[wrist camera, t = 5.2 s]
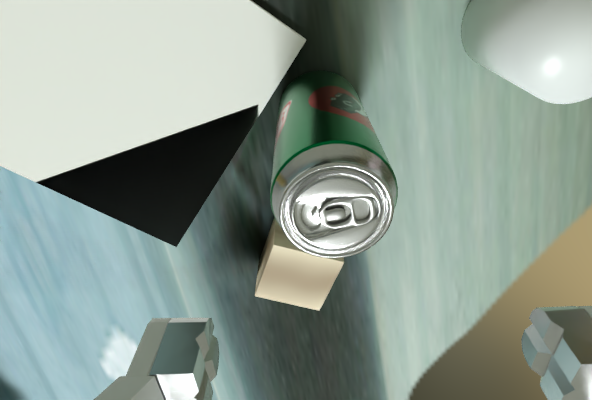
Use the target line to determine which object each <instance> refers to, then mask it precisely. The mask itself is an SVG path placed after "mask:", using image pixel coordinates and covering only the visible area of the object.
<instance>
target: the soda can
mask: <svg viewBox="0 0 592 400" xmlns="http://www.w3.org/2000/svg"><path fill="white" fill-rule="evenodd" d="M397 197H398V187H397V181H396V177H395V175H394V172H393V170H392V168H391V166H390V163H389V161H388V159H387V157H386V155H385V153H384V151H383V149H382V146H381V144H380V142H379V140H378V138H377V136H376V134H375V131H374V129H373V127H372V125H371V123H370V121H369V119H368V116H367V114H366V112H365V110H364V108H363V106H362V104H361V102H360V99H359V97H358V95H357V93H356V91H355V89H354V88H353V86H352V85H351V84H350V83H349V82H348V81H347V80H346V79H345V78H343V77H342V76H340V75H338V74H336V73H333V72H329V71H312V72H308V73H305V74H303V75H301V76H299V77H297V78H296V79H295V80H293V81H292V82H291V83H290V84H289V85H288V87H287V88H286V89H285V91H284V93H283V95H282V97H281V100H280V104H279V111H278V121H277V131H276V141H275V151H274V161H273V171H272V181H271V191H270V203H271V208H272V212H273V214H274V217H275V219H276V221H277V222H278V224H279V225H280V227H281V228H282V230H283V232H284V233H285V235H286V236H287V238H288V239H289V240H290V241H291V242H292V243H293V244H294V245H295V246H296V247H298V248H299V249H301V250H302V251H304V252H306V253H309V254H311V255H314V256H318V257H323V258H343V257H348V256H353V255H355V254H358V253H361V252H363V251H365V250H367V249H369V248H370V247H371V246H373V245H374V244H376V243H377V242H378V241H379V240H380V239H381V238H382V237H383V235H384V234H385V233H386V231H387V230H388V228H389V226H390V224H391V221H392V218H393V213H394V208H395V206H396V202H397Z"/></svg>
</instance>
